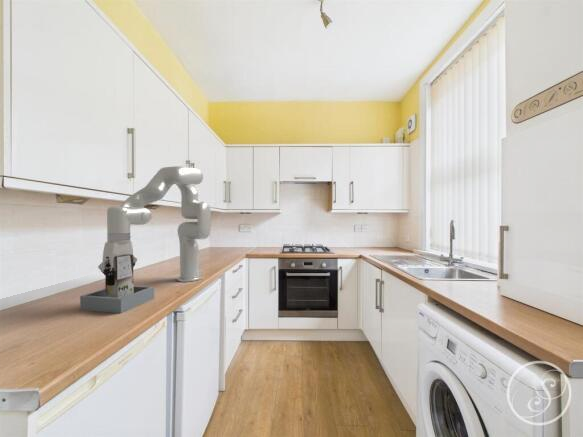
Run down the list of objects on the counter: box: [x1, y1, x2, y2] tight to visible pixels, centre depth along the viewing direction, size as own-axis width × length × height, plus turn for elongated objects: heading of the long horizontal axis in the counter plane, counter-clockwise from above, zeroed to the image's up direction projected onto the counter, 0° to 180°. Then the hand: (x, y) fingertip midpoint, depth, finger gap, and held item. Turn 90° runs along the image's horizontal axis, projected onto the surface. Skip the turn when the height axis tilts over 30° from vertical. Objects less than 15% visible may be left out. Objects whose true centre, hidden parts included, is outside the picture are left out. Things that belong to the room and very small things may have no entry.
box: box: [79, 285, 155, 314], centre depth 98 cm, size 16×18×5 cm
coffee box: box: [104, 254, 135, 298], centre depth 98 cm, size 9×6×16 cm
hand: (119, 282), depth 98 cm, fingers closed on coffee box, 7 cm apart
